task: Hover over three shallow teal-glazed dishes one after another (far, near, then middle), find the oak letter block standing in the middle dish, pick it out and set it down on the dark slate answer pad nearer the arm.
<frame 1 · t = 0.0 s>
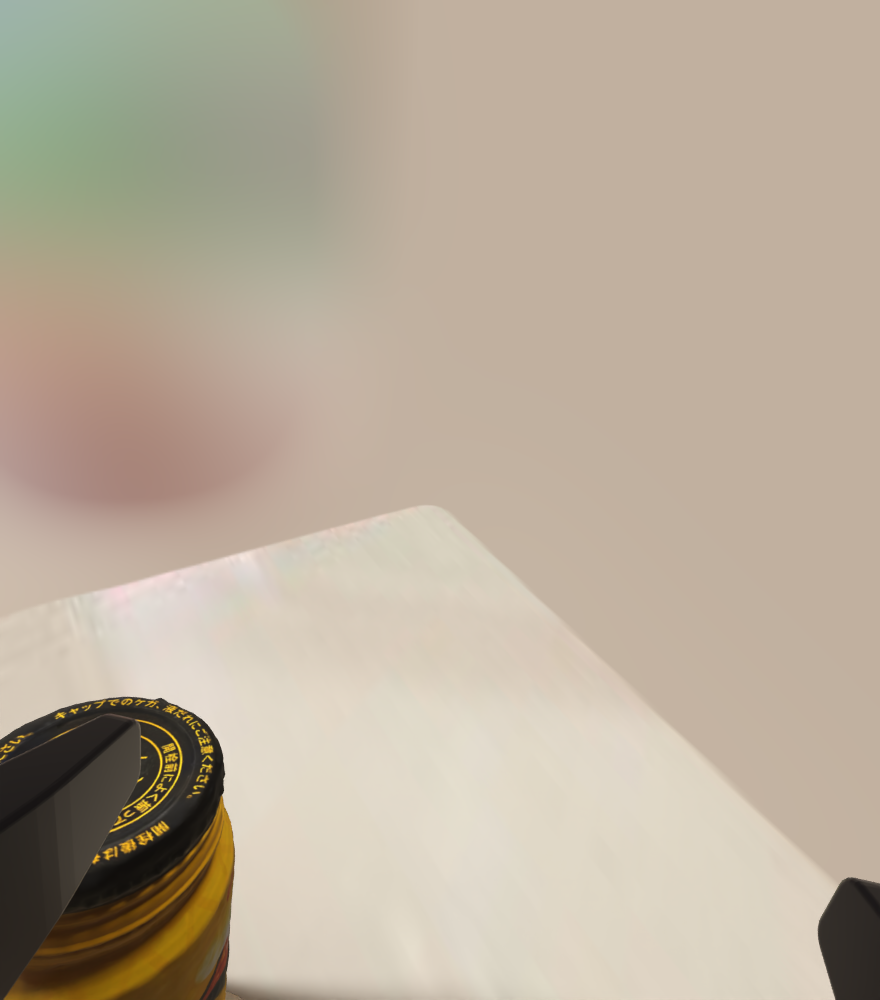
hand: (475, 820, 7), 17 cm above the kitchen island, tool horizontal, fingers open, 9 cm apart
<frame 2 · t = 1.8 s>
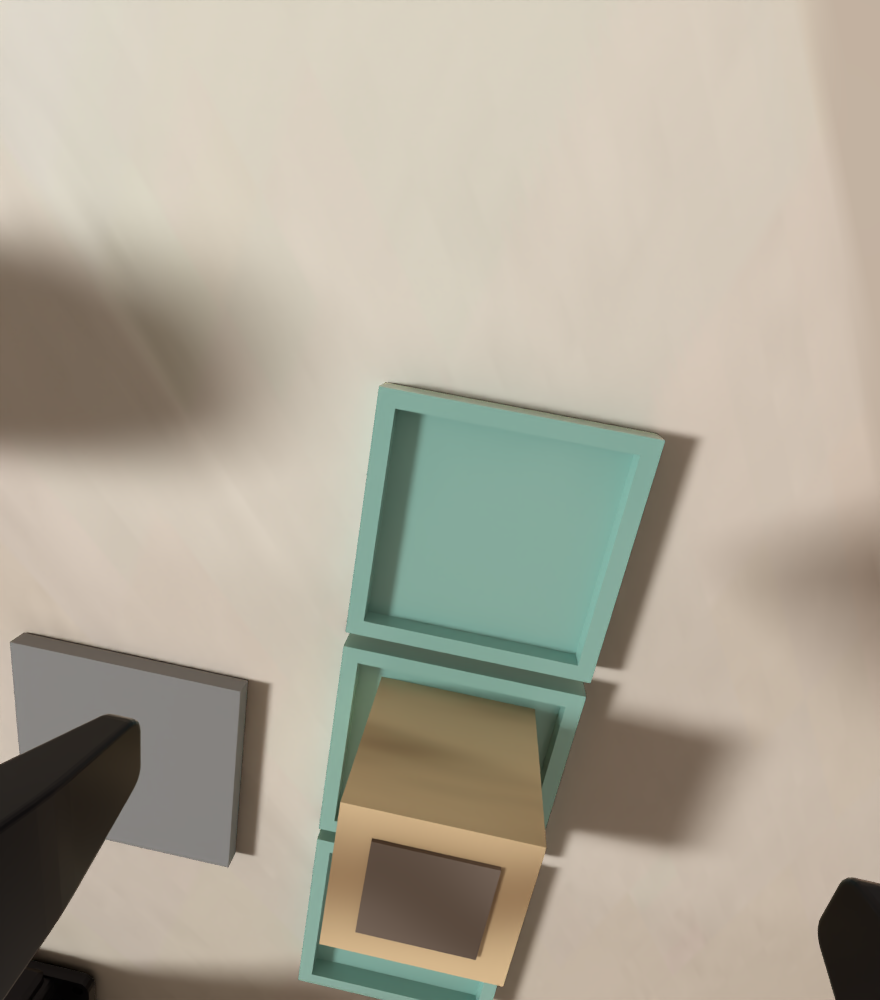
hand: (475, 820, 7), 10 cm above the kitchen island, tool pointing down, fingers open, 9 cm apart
answer pad: (135, 748, 21), on the kitchen island
dish middle: (445, 747, 19), on the kitchen island
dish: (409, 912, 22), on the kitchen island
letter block: (444, 754, 19), resting on dish middle
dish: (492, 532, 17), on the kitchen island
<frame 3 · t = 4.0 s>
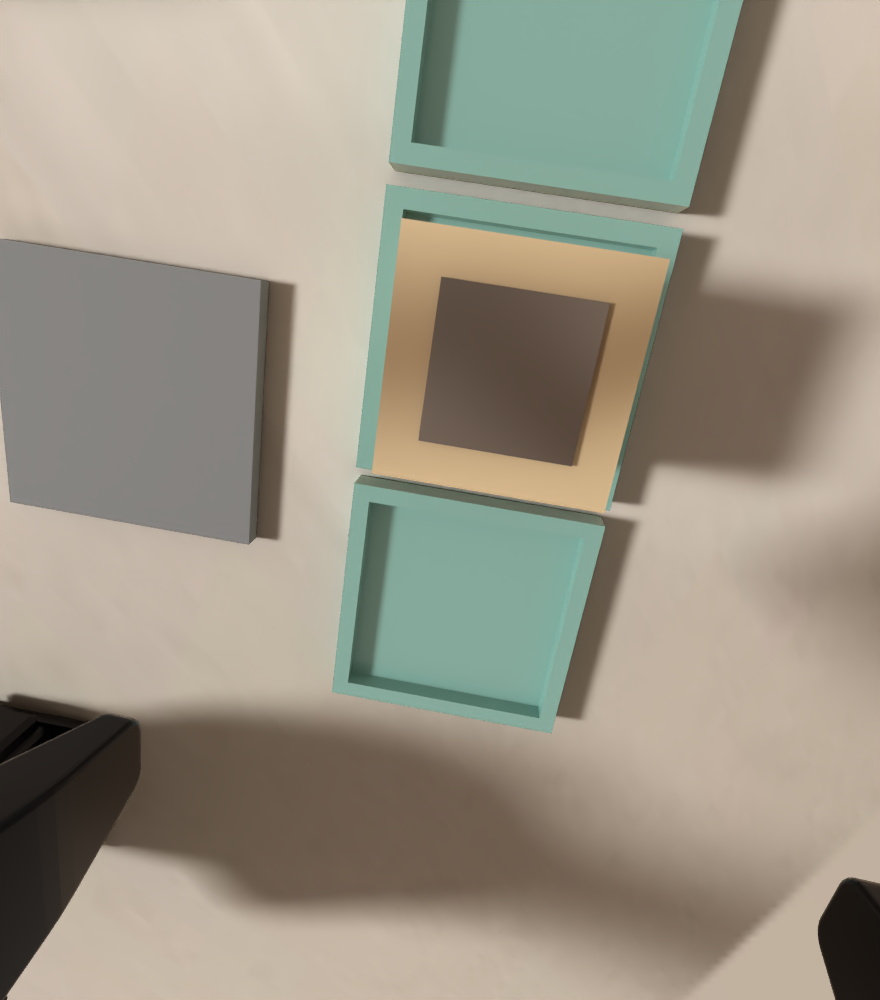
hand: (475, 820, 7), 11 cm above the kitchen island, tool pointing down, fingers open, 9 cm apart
answer pad: (137, 397, 18), on the kitchen island
dish middle: (504, 356, 16), on the kitchen island
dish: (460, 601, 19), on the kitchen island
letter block: (505, 356, 16), resting on dish middle
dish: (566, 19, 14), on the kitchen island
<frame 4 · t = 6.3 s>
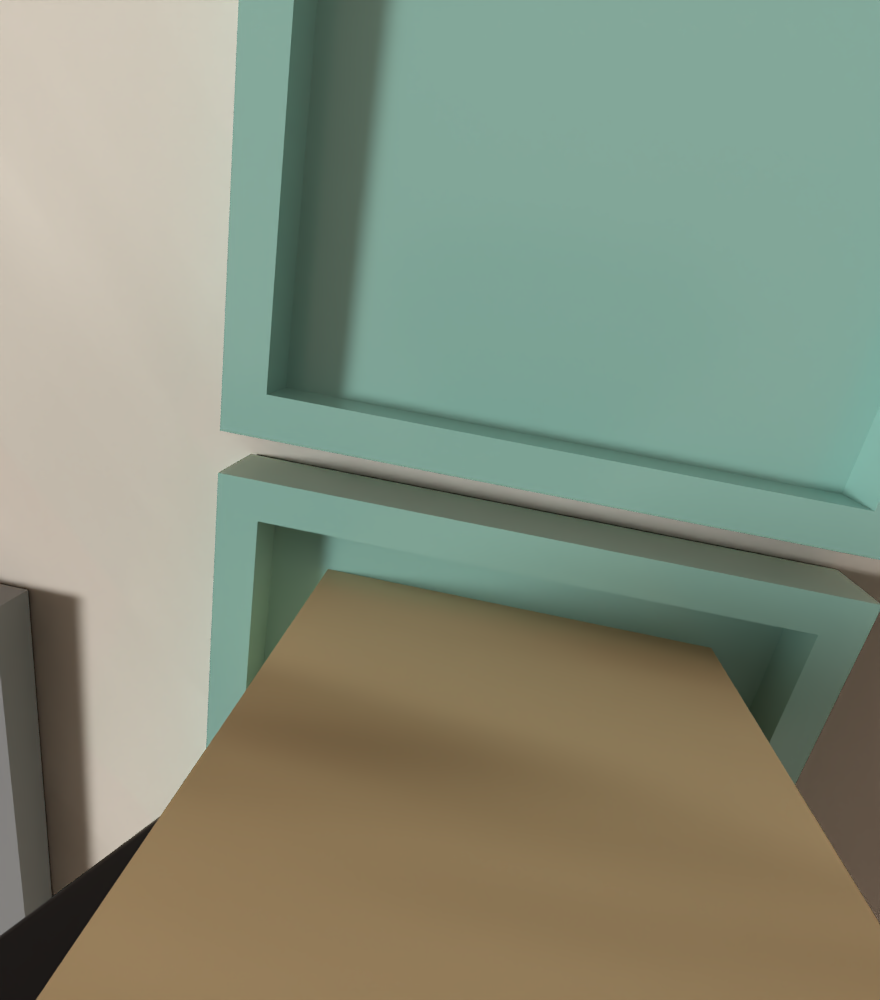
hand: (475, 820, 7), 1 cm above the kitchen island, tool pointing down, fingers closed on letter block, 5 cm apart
dish middle: (480, 744, 8), on the kitchen island
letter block: (479, 759, 8), resting on dish middle, touching gripper
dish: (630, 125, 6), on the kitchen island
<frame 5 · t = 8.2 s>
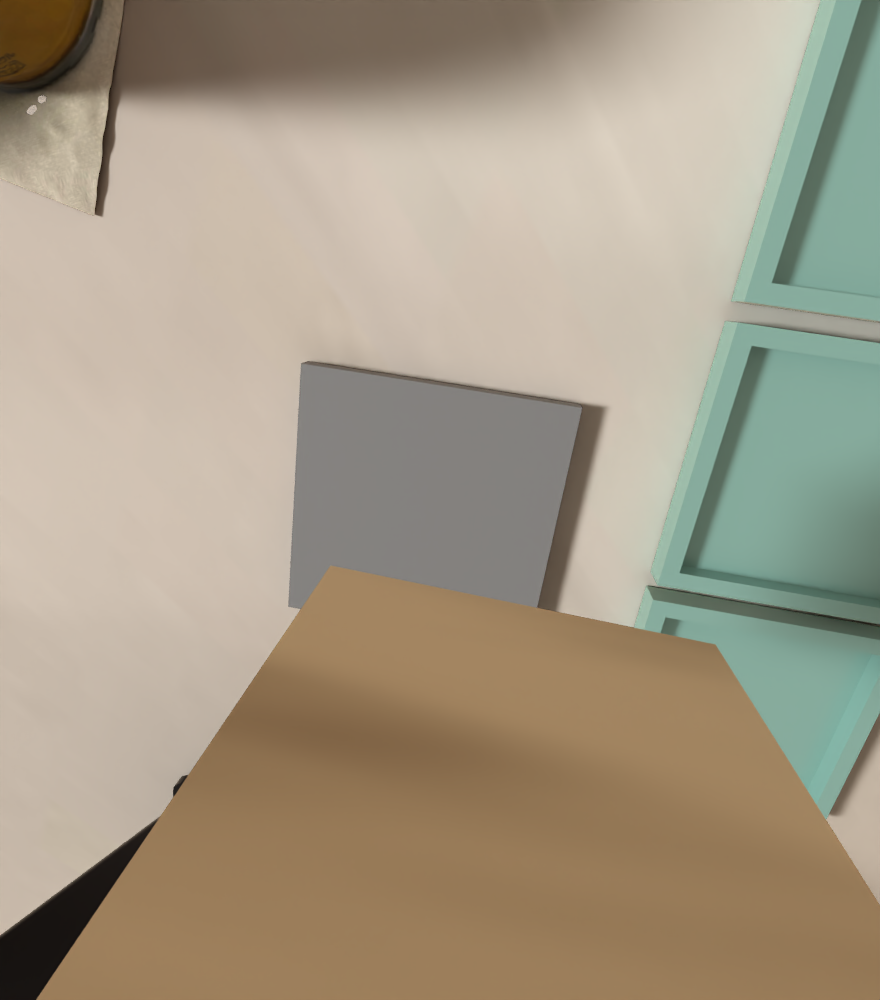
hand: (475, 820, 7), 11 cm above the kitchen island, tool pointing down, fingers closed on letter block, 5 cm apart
answer pad: (424, 509, 18), on the kitchen island
dish middle: (818, 477, 16), on the kitchen island
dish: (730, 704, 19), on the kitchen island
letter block: (482, 756, 8), point 10 cm above the kitchen island, touching gripper
when the fingers open (3 cm above the kitchen island, at t = 10.3 s): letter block drops 2 cm, resting on answer pad.
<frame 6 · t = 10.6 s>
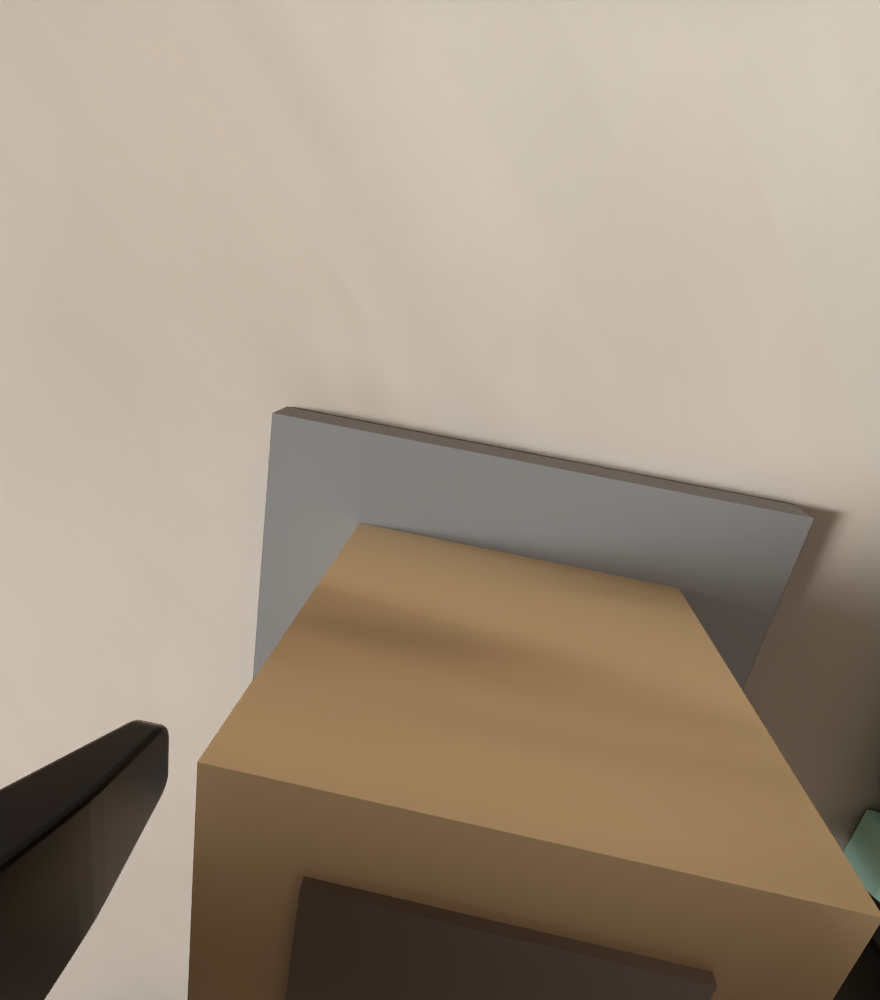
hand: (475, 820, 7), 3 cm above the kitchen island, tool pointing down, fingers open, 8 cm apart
answer pad: (485, 668, 10), on the kitchen island
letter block: (485, 687, 10), point 1 cm above the kitchen island, touching answer pad
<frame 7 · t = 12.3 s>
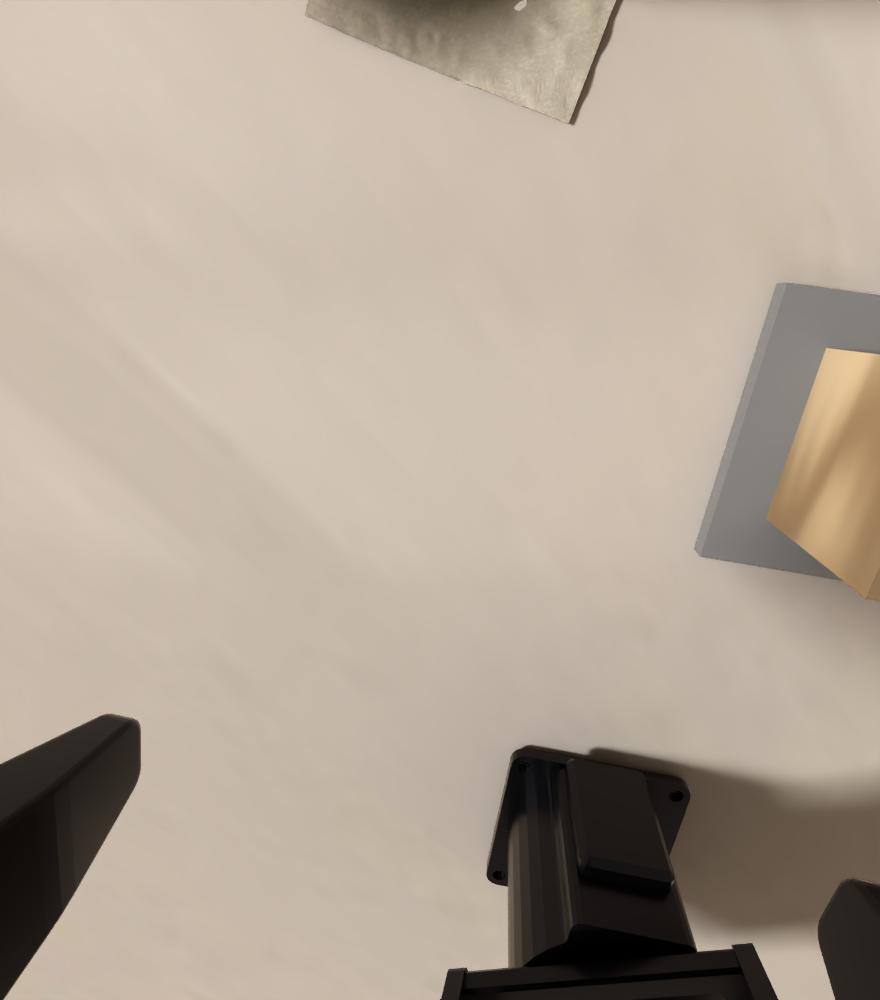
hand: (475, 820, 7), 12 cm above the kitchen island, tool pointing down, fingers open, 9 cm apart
answer pad: (871, 448, 17), on the kitchen island
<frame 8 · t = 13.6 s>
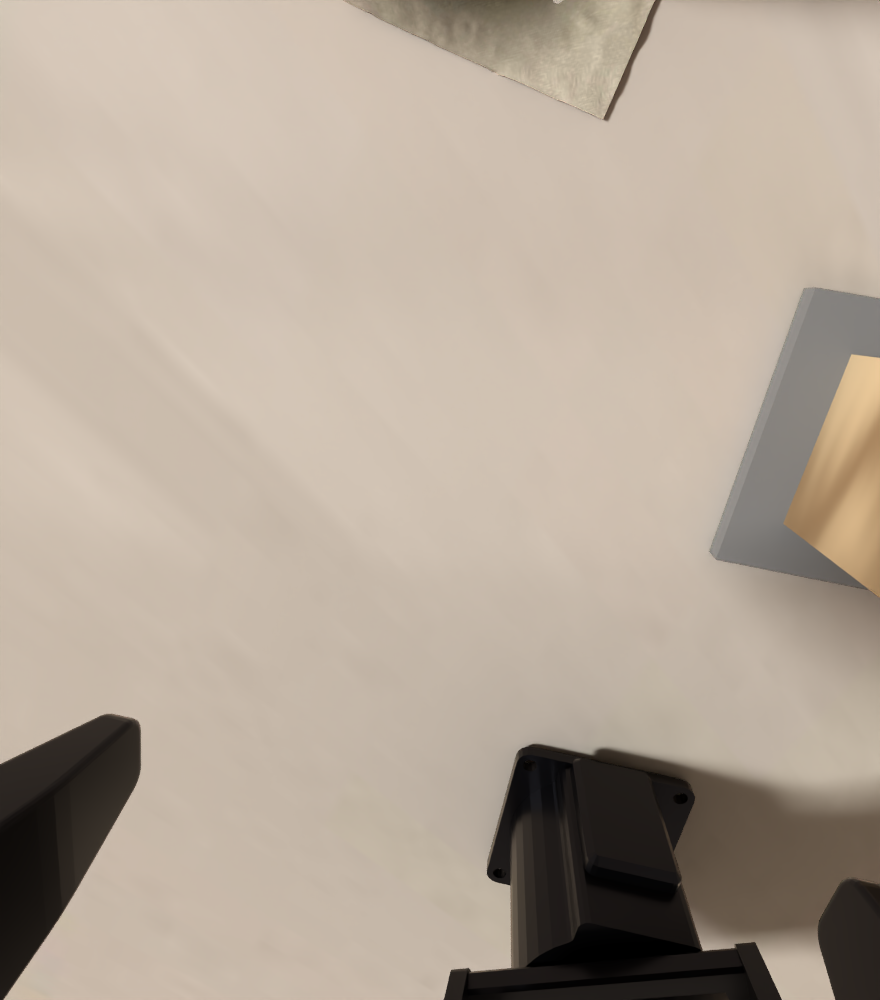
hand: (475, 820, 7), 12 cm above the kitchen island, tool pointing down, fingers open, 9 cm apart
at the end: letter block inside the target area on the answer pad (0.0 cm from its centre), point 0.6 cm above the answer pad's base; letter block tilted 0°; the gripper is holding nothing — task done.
